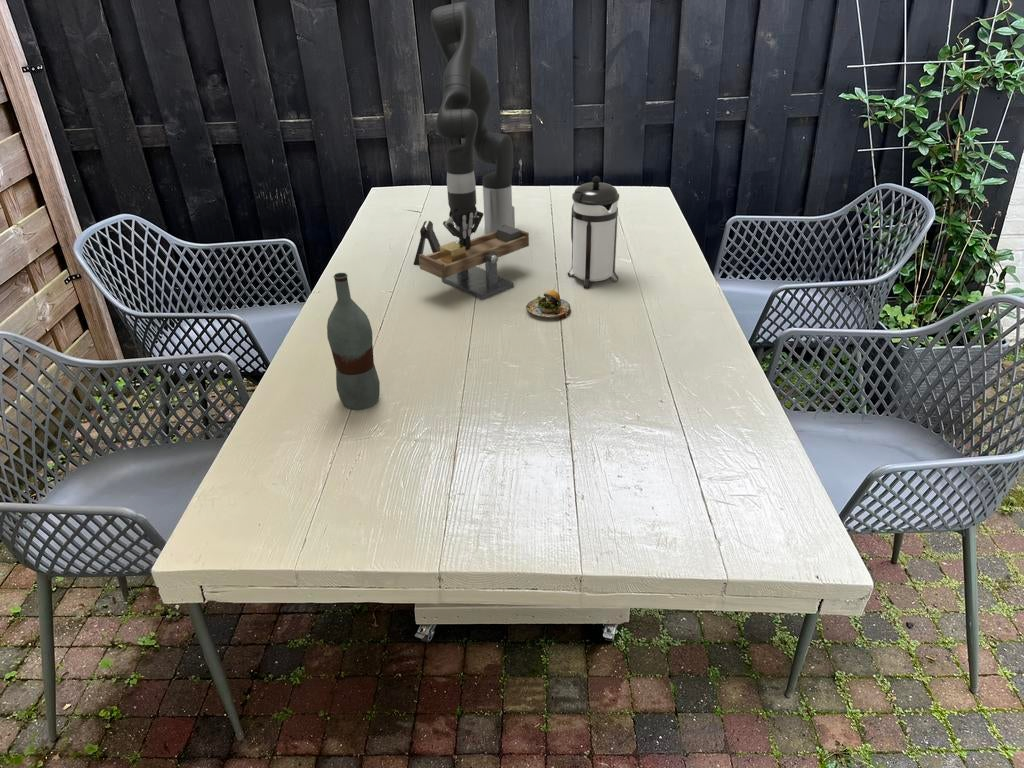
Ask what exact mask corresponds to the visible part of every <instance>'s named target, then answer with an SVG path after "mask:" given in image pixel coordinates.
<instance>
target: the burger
mask: <svg viewBox="0 0 1024 768" xmlns="http://www.w3.org/2000/svg"><path fill="white" fill-rule="evenodd" d="M556 286H557V285H556V284H554V289H551V290H547V291H545V292H544V293H543V297H541V296H540V295H538V296H537V297H536V298H534V299H533V300H531V301H529V302H528V303H527V304H526V305H525V306H526V307H525V309H526V310H527V312H529V313H531V314H532V315H534V316H536V317H539V318H547V319H551V318H557V317H558V320H560V321H561V320H564V319H567V315H568V316H571V313H572V312H571V310H572V309H571V305H570V303H569V302H568V301H567V300H565V299H563V298H561V296H560V295H561V294H559V292H557V291H556V290H555V288H556Z"/></svg>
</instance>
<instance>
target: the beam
mask: <svg viewBox="0 0 1024 768" xmlns="http://www.w3.org/2000/svg"><path fill="white" fill-rule="evenodd" d="M504 226H508V225H503V227H504ZM510 227H511V226H510ZM512 228H514V227H512ZM515 229H518V228H516V227H515ZM518 230H521V237H520V238H517V239H515V240H512V241H509V242H504V241H501V240H499V239H497V231H495V232H492V233H489V234H486V235H485V234H484V235H481V236H477V237H475V238H472V239H470V240H471V241H470V242H471V246H470V249H469V250H466V258H463V259H461V260H458V261H455V262H452V263H450V264H448V263H446V262H444V261H441V258H440V251H438V252H435V253H433V252H432V253H430V254H427V255H425V254H424V253H423V254H420V255H419V264H420V265H419V269H420V270H422V271H424V272H426V273H429V274H431V275H434V276H436V277H438V278H439V279H441V280H442V279H443V278H446V277H449V276H451V275H454V274H457V273H459V272H462V271H464V270H467V269H470V268H472V267H475V266H476V267H478V266H479V265H482V264H485V255H487V254H490V253H496V254H497V257H498V258H501V257H504V256H505V255H508V254H511V253H514V252H516V251H519V250H521V249H524V248H527V247H529V246H530V242H529V241H530V240H529V239H530V237H529V235H530V234H529V232H527V231H524V230H522V229H518Z"/></svg>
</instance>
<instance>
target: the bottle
mask: <svg viewBox="0 0 1024 768" xmlns="http://www.w3.org/2000/svg"><path fill="white" fill-rule="evenodd" d="M333 279H334V284H335V291H336V297H337V298H336V299H337V300H336V301H335V303H334V304H335V305H334V306H333V308H332V309H331V311H330V314H329V316H328V319H327V325H326V330H327V331H326V335H327V341H328V344H329V347H330V350H331V355H332V358H333V362H334V364H335V365H334V366H335V381H336V382H335V383H336V391H337V394H338V396H339V399H340V402H341V403H342V405H343V407H345V408H346V409H348V410H351V411H363V410H368V409H370V408H372V407H374V406H375V405H377V404H378V402H379V400H380V396H381V395H380V392H381V391H380V389H381V388H380V386H381V385H380V384H381V383H380V379H379V375H378V371H377V368H376V366H375V362H374V345H373V344H374V343H373V330H372V325H371V322H370V320H369V318H368V315H367V314H366V312H365V311H364V310H363V309H362V308H361V307H360V306H359V305H358V304H357V303H356V301H354V300H353V298H352V297H351V291H350V286H349V279H348V274H347V273H346V272H337V273H334V275H333Z"/></svg>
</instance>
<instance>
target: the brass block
mask: <svg viewBox="0 0 1024 768" xmlns="http://www.w3.org/2000/svg"><path fill="white" fill-rule="evenodd" d="M440 258H441V261H444V262H446V263H448V264H450V263H452V262H455V261H458V260H461V259H463V258H466V249H465V246H463V245H461V244H458V243H456V241H452V242H448V243H446V244H443V245H440Z"/></svg>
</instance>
